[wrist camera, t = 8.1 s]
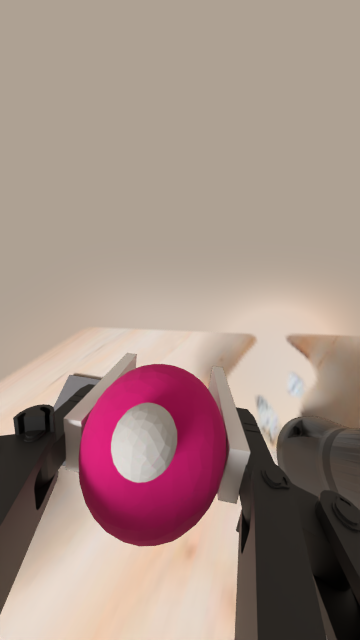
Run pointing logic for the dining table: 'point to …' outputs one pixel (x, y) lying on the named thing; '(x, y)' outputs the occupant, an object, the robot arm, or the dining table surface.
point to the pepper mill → (152, 455)
